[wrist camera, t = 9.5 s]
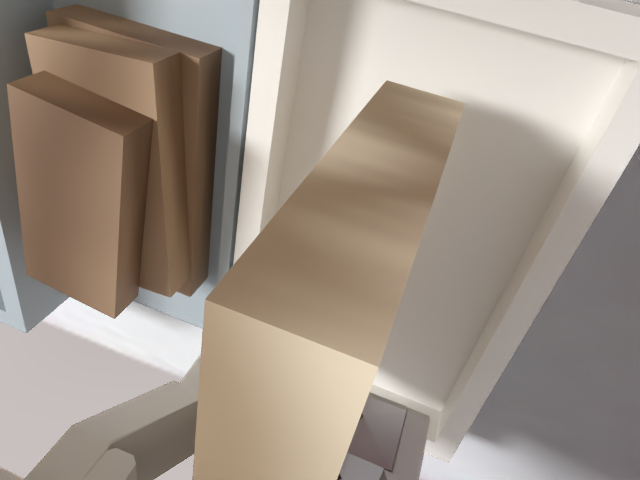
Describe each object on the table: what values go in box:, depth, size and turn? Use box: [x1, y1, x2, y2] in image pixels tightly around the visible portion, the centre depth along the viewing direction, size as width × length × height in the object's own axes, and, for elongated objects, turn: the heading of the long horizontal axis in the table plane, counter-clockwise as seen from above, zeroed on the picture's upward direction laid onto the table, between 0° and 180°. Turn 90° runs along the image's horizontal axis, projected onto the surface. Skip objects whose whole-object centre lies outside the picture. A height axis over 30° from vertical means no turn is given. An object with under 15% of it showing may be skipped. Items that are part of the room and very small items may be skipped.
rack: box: [0, 0, 260, 333], centre depth 18 cm, size 12×15×4 cm
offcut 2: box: [7, 71, 153, 319], centre depth 16 cm, size 4×7×1 cm, turn 163°
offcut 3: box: [46, 4, 222, 297], centre depth 18 cm, size 5×9×1 cm, turn 169°
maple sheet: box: [193, 80, 466, 480], centre depth 12 cm, size 2×11×9 cm, turn 169°
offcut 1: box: [24, 24, 191, 298], centre depth 16 cm, size 4×8×1 cm, turn 173°
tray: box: [233, 0, 640, 463], centre depth 17 cm, size 10×16×2 cm, turn 169°
